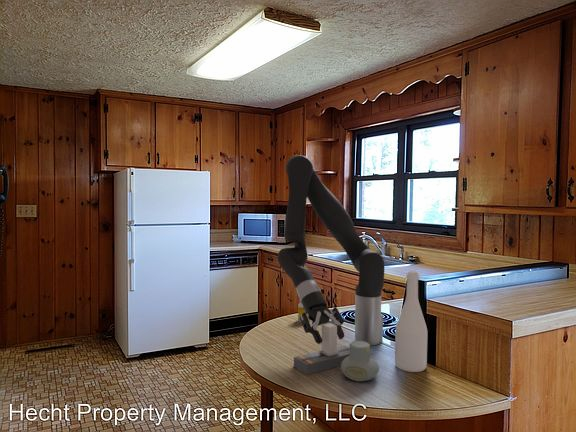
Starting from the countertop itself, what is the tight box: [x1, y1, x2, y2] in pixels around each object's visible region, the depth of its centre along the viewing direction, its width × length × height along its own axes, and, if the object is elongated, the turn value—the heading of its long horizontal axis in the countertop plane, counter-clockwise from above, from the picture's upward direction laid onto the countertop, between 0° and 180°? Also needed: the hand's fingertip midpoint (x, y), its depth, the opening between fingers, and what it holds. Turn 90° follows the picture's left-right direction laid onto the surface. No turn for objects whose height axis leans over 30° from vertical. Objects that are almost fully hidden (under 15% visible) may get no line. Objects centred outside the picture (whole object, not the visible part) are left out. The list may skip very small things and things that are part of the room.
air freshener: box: [340, 340, 380, 383], centre depth 127 cm, size 11×8×10 cm
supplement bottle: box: [297, 300, 312, 323], centre depth 181 cm, size 5×5×10 cm
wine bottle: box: [394, 270, 428, 373], centre depth 134 cm, size 10×10×30 cm
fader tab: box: [318, 323, 339, 357], centre depth 137 cm, size 4×5×9 cm
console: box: [293, 344, 350, 376], centre depth 137 cm, size 20×7×3 cm, turn 122°
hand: (331, 340), depth 136 cm, fingers open, 8 cm apart
